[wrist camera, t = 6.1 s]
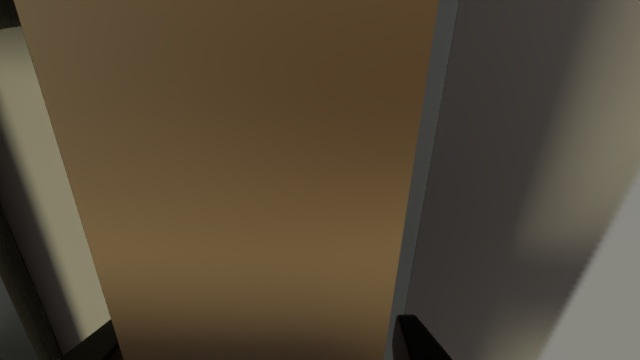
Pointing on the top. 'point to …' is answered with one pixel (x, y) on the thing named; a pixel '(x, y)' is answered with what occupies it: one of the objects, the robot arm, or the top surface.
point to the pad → (423, 156)
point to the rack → (20, 281)
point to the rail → (238, 165)
